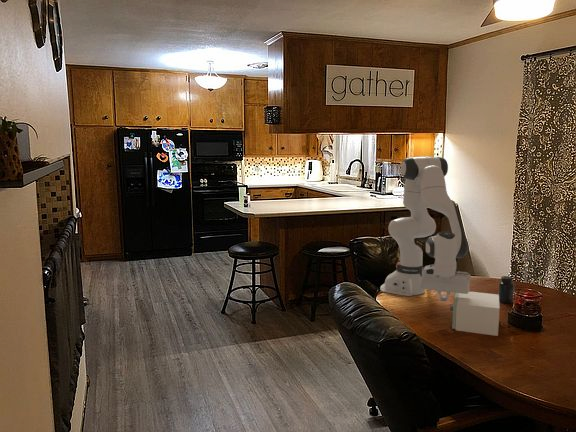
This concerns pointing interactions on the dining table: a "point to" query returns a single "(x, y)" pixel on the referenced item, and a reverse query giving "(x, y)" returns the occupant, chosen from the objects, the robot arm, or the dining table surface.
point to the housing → (478, 313)
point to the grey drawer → (454, 310)
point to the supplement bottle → (506, 290)
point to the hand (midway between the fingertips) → (443, 300)
